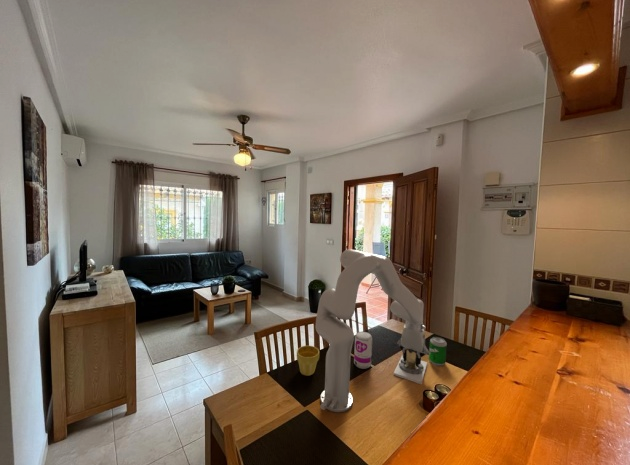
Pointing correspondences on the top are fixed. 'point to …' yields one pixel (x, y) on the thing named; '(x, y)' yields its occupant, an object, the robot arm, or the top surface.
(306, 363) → the plant pot
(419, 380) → the socket board
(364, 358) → the supplement can
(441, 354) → the soda can
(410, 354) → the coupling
